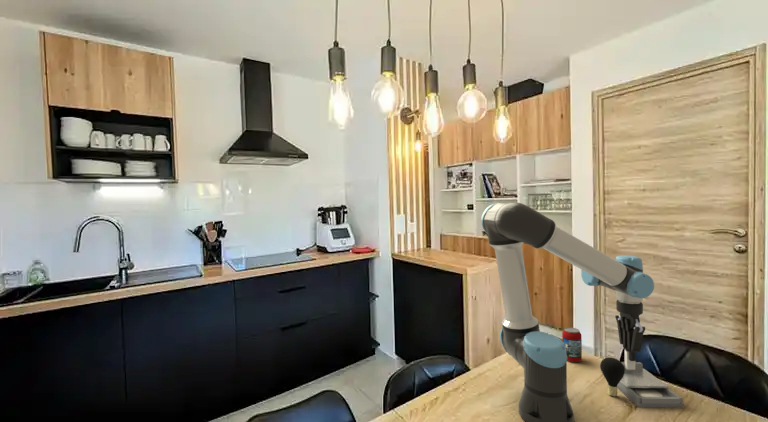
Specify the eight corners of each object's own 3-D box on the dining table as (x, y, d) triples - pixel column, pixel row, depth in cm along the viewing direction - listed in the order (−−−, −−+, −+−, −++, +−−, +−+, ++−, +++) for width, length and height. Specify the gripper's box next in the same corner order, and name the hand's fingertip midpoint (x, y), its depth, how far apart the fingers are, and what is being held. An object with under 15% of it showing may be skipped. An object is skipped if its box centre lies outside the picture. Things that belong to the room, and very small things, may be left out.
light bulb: (629, 401, 111) (629, 363, 110) (606, 400, 112) (606, 363, 111) (618, 390, 117) (618, 354, 117) (596, 389, 118) (596, 353, 118)
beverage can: (564, 362, 138) (564, 332, 138) (561, 355, 145) (560, 326, 144) (583, 364, 136) (583, 333, 136) (579, 356, 143) (579, 327, 142)
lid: (627, 387, 113) (627, 378, 113) (606, 369, 125) (606, 361, 125) (668, 388, 113) (668, 378, 112) (643, 370, 125) (643, 361, 124)
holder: (638, 407, 108) (638, 398, 108) (604, 377, 126) (604, 369, 126) (683, 407, 107) (683, 398, 107) (642, 377, 125) (642, 369, 125)
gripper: (653, 306, 115) (654, 378, 115) (629, 295, 128) (629, 360, 128) (629, 306, 115) (630, 377, 116) (607, 295, 128) (608, 360, 129)
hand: (630, 368), depth 122 cm, fingers closed
